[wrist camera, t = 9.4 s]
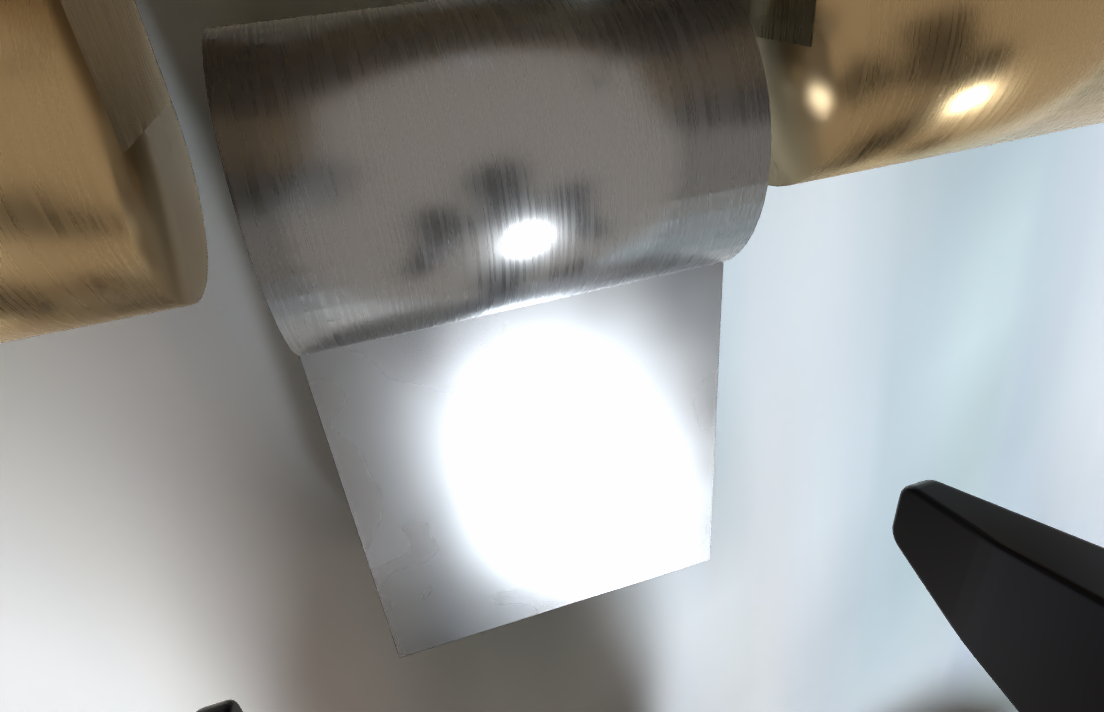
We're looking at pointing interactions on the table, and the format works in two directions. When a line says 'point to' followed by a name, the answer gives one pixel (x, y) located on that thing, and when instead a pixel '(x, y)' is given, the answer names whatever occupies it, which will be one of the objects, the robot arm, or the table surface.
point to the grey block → (502, 277)
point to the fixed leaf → (770, 3)
